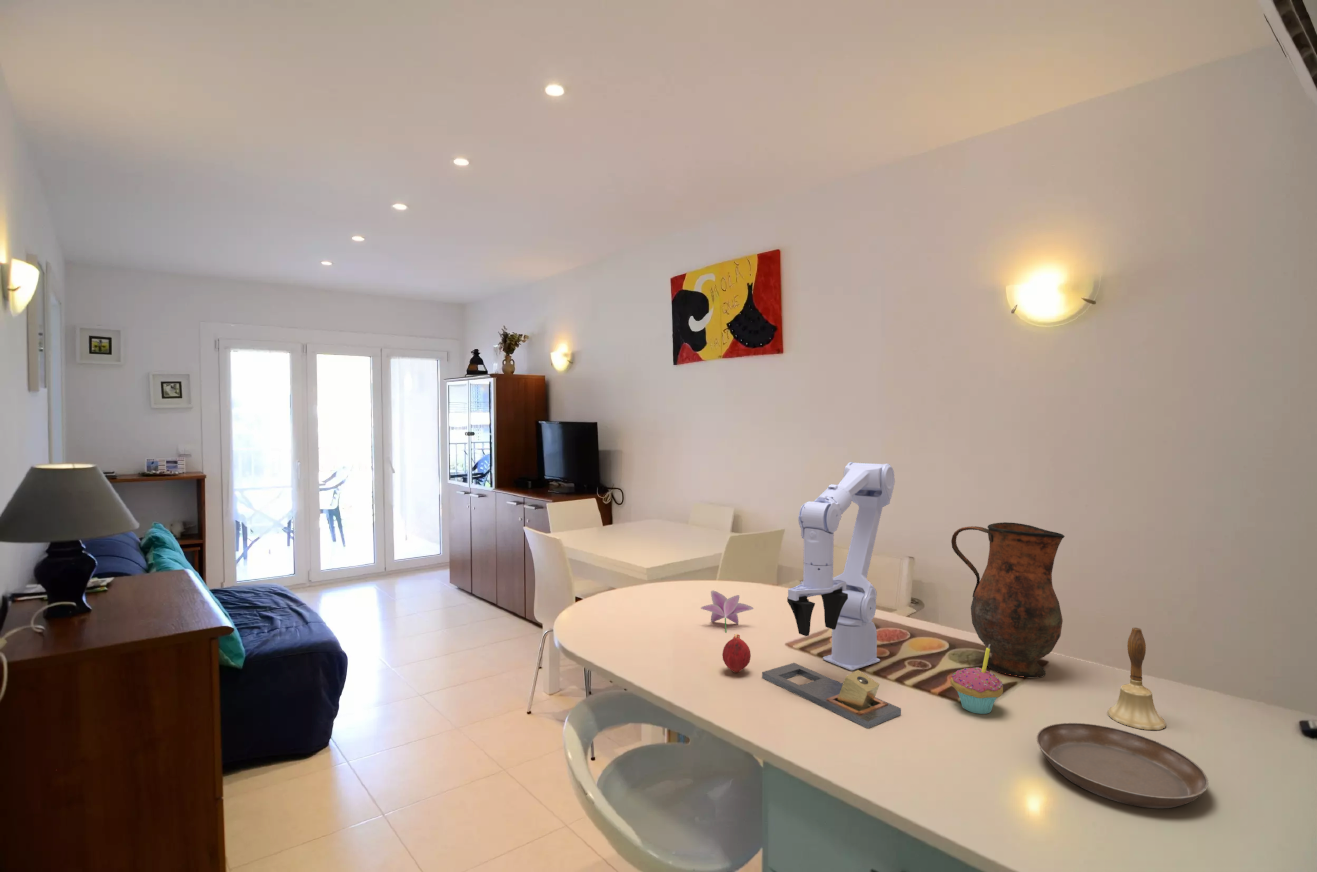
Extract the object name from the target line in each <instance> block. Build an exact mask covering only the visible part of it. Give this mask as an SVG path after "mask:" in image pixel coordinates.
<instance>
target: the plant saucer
mask: <svg viewBox="0 0 1317 872" xmlns="http://www.w3.org/2000/svg"><path fill="white" fill-rule="evenodd" d="M1036 734H1037V735H1036V738H1035V739H1036V743H1037V745H1038V748H1039V749H1040V751H1041V752H1042V754H1043V756H1044V757H1045V758H1046V760H1047V761H1048V762H1049V764H1050V765H1052V767H1053V768H1054V769H1055V770H1056V771H1057V772H1058V773H1060V774H1061V776H1063V777H1064V778H1065V779H1067V780H1068V781H1070V782H1071V783H1073V784H1074V785H1076V786H1078V787H1080V788H1082V789H1084V790H1086V791H1088V792H1090V793H1092V794H1094V795H1095V796H1096V795H1097V796H1099V797H1102V798H1104V799H1107V800H1110V801H1113V802H1117V803H1121V804H1124V805H1129V806H1133V807H1134V806H1135V807H1140V808H1150V809H1170V808H1177V807H1181V806H1183V805H1186V804H1189V803H1191V802H1193V801H1195V800H1197V798H1199V797H1201V796H1202V795H1203V794H1204V793H1205V792H1206V790H1208V787H1209V778H1208V776H1207V773H1206V772H1205V771H1204V770H1203V769H1202V768H1201V767H1200V766H1199V765H1198V764H1197V763H1196V762H1195V761H1194V760H1192V759H1190V758H1189V757H1188V756H1186V755H1184V754H1183V753H1181V752H1179V751H1177V750H1176V749H1174V748H1171V747H1170V746H1168V745H1165V744H1163V743H1161V742H1159V741H1156V740H1153V739H1151V738H1148V737H1145V736H1143V735H1140V734H1137V733H1133V732H1130V731H1127V730H1123V729H1119V728H1115V727H1111V726H1104V725H1099V724H1098V725H1097V724H1092V723H1084V722H1083V723H1081V722H1068V723H1067V722H1062V723H1055V724H1051V725H1048V726H1045V727H1043V728H1041V729H1039V731H1038V732H1037V733H1036Z"/></svg>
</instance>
